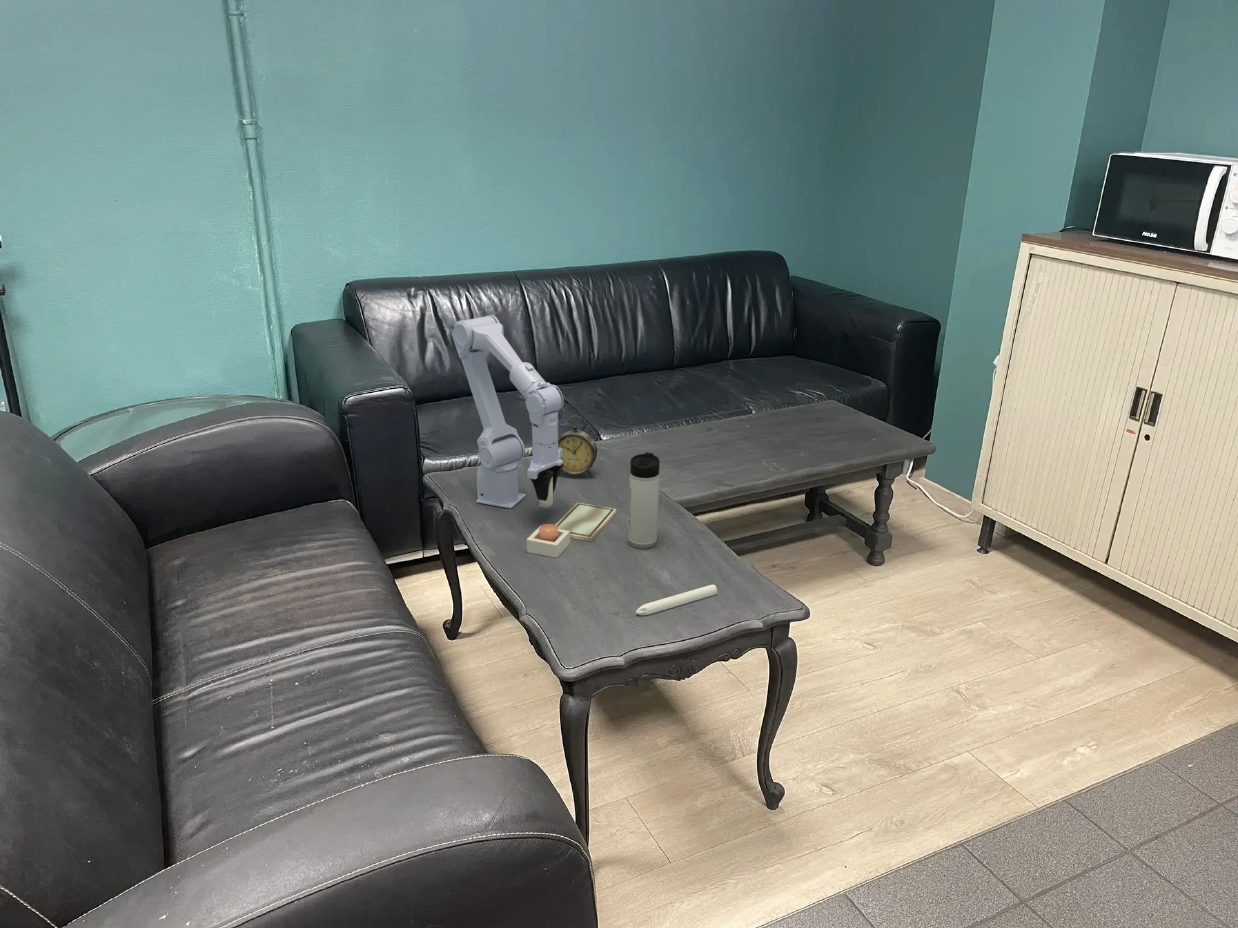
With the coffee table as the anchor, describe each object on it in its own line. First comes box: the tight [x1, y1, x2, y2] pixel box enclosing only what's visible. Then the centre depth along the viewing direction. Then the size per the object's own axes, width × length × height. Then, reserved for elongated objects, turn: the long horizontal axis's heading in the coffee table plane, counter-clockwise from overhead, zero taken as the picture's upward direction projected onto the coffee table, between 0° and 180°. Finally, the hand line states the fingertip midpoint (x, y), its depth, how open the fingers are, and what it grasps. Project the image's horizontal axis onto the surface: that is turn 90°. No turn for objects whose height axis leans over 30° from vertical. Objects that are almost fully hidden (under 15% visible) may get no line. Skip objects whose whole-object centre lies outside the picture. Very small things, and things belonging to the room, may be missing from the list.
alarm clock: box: [558, 415, 598, 478], centre depth 218 cm, size 11×5×16 cm, turn 80°
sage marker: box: [538, 469, 554, 508], centre depth 194 cm, size 3×3×8 cm
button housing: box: [526, 527, 571, 559], centre depth 184 cm, size 7×7×3 cm
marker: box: [635, 584, 718, 616], centre depth 164 cm, size 18×2×2 cm, turn 120°
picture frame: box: [555, 502, 618, 542], centre depth 195 cm, size 10×16×1 cm, turn 160°
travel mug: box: [627, 452, 661, 550], centre depth 184 cm, size 6×7×20 cm
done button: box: [538, 523, 558, 542], centre depth 183 cm, size 4×4×3 cm
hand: (545, 496), depth 194 cm, fingers closed on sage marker, 3 cm apart
